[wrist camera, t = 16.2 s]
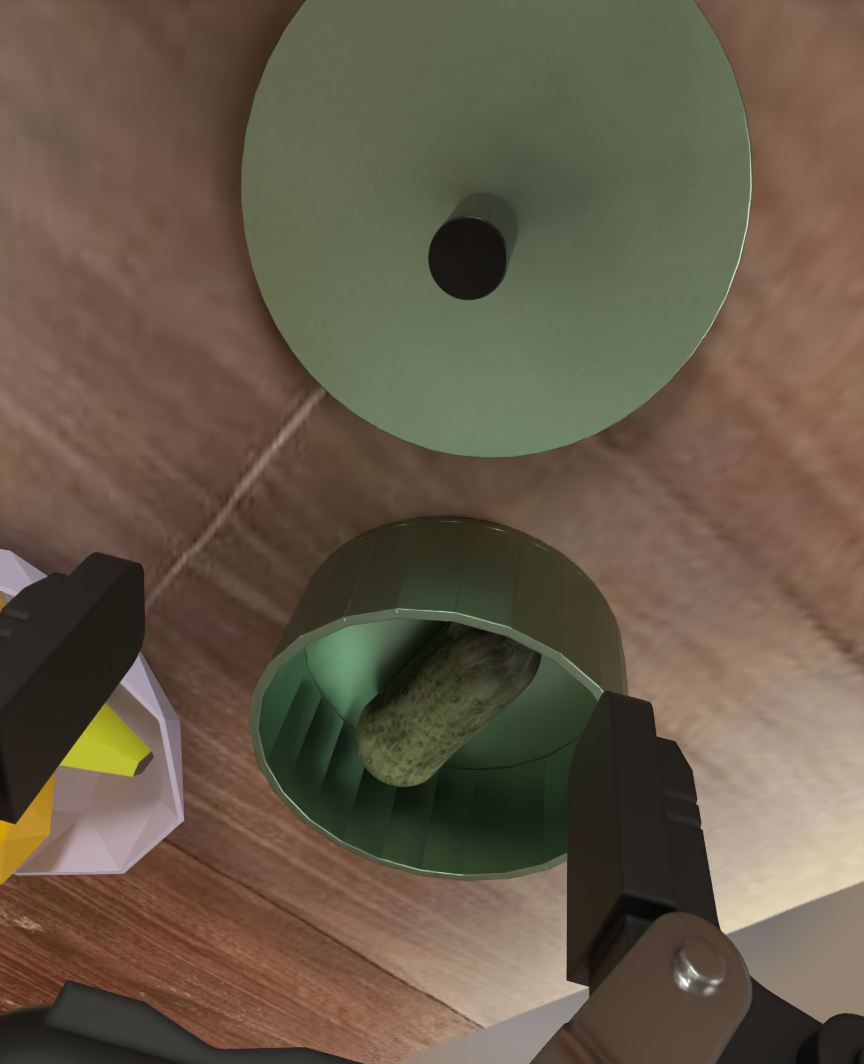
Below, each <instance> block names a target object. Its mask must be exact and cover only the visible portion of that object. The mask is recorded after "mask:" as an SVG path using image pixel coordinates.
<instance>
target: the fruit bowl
mask: <svg viewBox="0 0 864 1064" xmlns="http://www.w3.org/2000/svg"><path fill="white" fill-rule="evenodd" d="M45 577H47V575H45V574H44V573H42V572H41V571H39V570H38V569H36V568H35V567H33V566H32V565H30V564H29V563H28V562H26V561H25V560H23V559H22V558H20V557H19V556H17V555H16V554H14V553H13V552H11V551H10V550H3V549H0V613H1V611H2V608H3V607H4V606H5V605H6V604H7V603H8V602H10V601H11V600H12V599H13V598H14V597H15V596H16V595H17V594H18V593H19V592H20V591H21V590H22V589H23V588H25V587H27V586H29V585H31V584H33V583H35V582H37V581H39V580H41V579H43V578H45ZM183 821H184V805H183V781H182V757H181V732H180V720H179V718H178V716H177V715H176V713H175V711H174V709H173V708H172V706H171V704H170V702H169V701H168V699H167V697H166V695H165V694H164V692H163V690H162V688H161V686H160V685H159V683H158V681H157V679H156V678H155V676H154V674H153V672H152V671H151V669H150V667H149V665H148V664H147V662H146V660H145V658H144V656H143V655H142V653H141V651H140V652H139V654H138V657H137V659H136V661H135V662H134V664H133V665H132V667H131V668H130V670H129V671H128V672H127V674H126V675H125V676H124V678H123V679H122V681H121V682H120V683H119V685H118V686H117V687H116V689H115V690H114V691H113V693H112V694H111V696H110V697H109V698H108V700H107V701H106V702H105V704H104V705H103V706H102V708H101V709H100V711H99V712H98V713H97V715H96V716H95V717H94V719H93V720H92V721H91V723H90V724H89V725H88V727H87V728H86V730H85V731H84V732H83V734H82V735H81V736H80V738H79V739H78V740H77V742H76V743H75V745H74V746H73V747H72V749H71V750H70V751H69V753H68V754H67V755H66V757H65V758H64V759H63V761H62V762H61V764H60V765H59V766H58V768H57V769H56V770H55V772H54V773H53V774H52V776H51V777H50V779H49V780H48V781H47V783H46V784H45V785H44V787H43V788H42V789H41V791H40V792H39V794H38V795H37V796H36V798H35V799H34V800H33V802H32V803H31V804H30V806H29V807H28V808H27V810H26V811H25V813H24V814H23V815H22V817H21V818H20V819H19V821H18V822H17V823H16V825H15V824H12V823H8V822H4V821H1V820H0V885H1V884H3V883H4V882H5V881H6V880H7V879H8V878H9V877H10V876H11V875H12V874H15V875H69V874H124V873H125V872H126V871H127V870H128V869H129V868H131V867H132V866H133V865H134V864H135V863H136V862H137V861H139V860H140V859H141V858H142V857H143V856H144V855H145V854H146V853H148V852H149V851H150V850H151V849H152V848H153V847H154V846H156V845H157V844H158V843H159V842H160V841H161V840H162V839H163V838H165V837H166V836H167V835H168V834H169V833H170V832H171V831H173V830H174V829H175V828H176V827H177V826H178V825H179V824H181V823H182V822H183Z"/></svg>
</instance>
